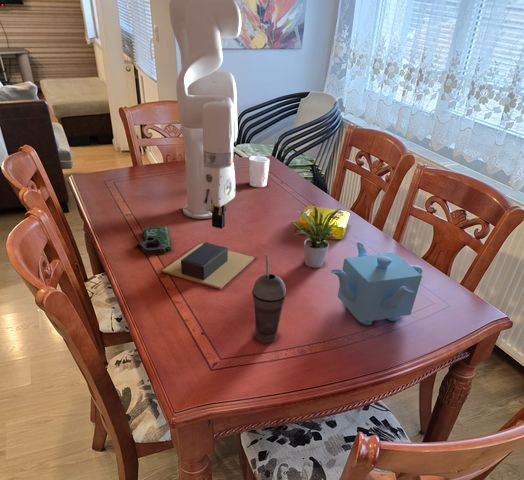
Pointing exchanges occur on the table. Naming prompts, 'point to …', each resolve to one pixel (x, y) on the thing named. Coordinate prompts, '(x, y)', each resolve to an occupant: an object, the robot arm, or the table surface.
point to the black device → (204, 261)
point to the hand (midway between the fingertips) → (218, 226)
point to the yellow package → (338, 225)
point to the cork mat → (218, 277)
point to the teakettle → (378, 286)
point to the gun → (155, 240)
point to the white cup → (258, 171)
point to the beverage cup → (268, 305)
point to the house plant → (316, 238)
